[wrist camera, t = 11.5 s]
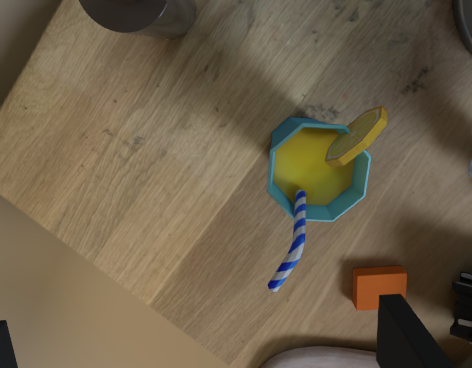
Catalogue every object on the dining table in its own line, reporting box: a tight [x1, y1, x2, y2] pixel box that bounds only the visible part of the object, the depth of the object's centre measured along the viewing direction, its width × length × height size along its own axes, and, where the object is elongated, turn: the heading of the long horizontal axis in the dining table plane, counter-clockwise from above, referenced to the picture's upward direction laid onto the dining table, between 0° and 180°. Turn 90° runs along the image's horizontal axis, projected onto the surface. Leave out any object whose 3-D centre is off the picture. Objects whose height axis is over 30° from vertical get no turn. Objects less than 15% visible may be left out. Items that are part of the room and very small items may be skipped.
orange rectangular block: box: [353, 266, 407, 310], centre depth 45 cm, size 5×4×2 cm
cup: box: [267, 106, 388, 292], centre depth 34 cm, size 14×8×15 cm, turn 154°
